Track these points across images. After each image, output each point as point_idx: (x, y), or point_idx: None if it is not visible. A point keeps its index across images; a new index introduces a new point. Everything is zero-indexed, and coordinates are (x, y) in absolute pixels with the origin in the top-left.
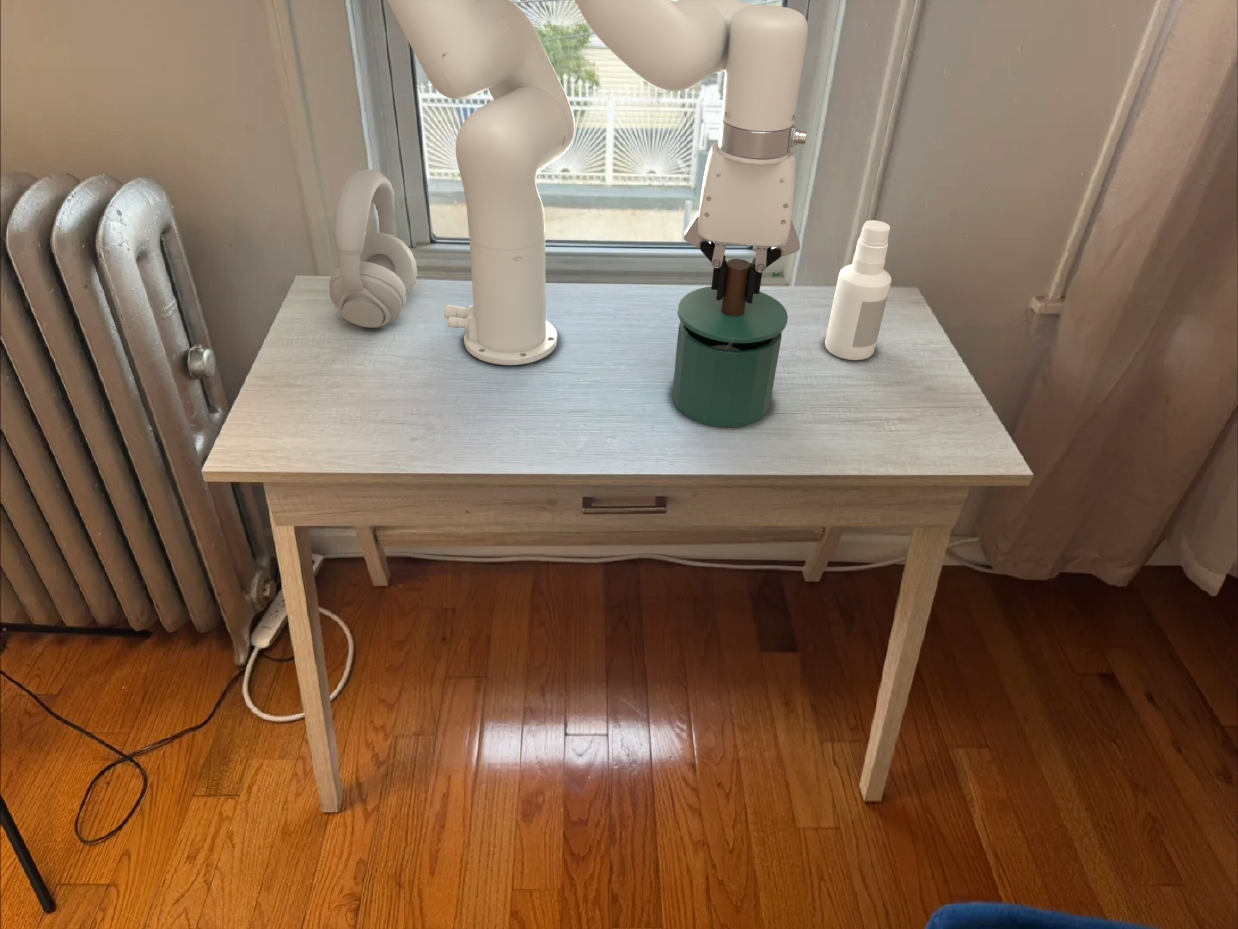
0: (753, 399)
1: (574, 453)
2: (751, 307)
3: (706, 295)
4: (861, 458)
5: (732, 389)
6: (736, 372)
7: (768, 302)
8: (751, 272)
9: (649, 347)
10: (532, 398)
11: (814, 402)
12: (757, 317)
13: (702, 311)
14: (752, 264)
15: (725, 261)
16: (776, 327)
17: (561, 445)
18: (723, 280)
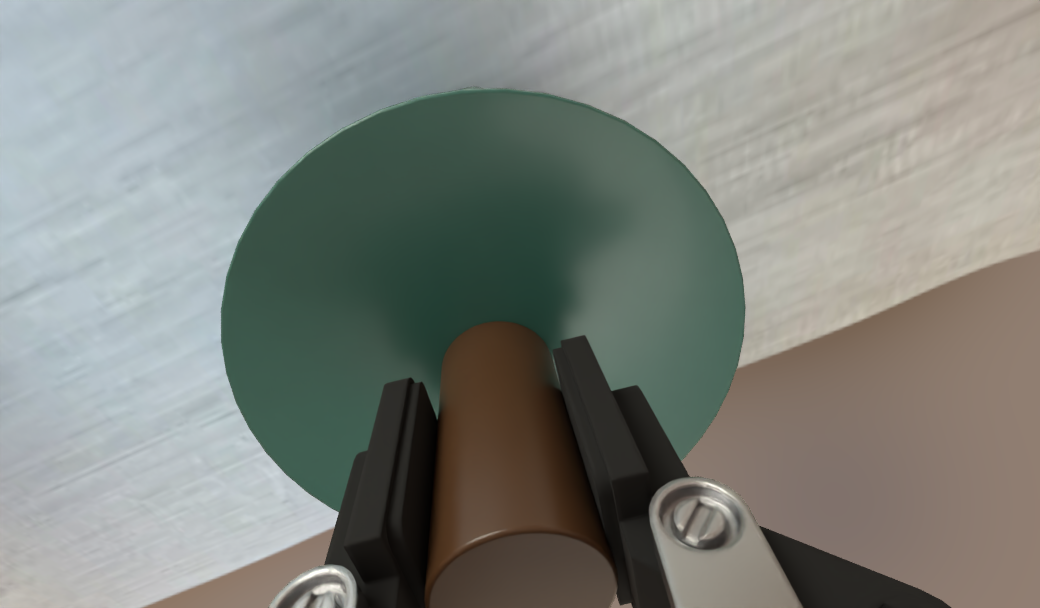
0: None
1: (284, 510)
2: (573, 302)
3: (322, 288)
4: (809, 306)
5: None
6: None
7: (646, 214)
8: (630, 601)
9: (152, 23)
10: (70, 410)
11: (714, 131)
12: (615, 373)
13: None
14: (633, 583)
15: (402, 563)
16: (701, 410)
17: (247, 503)
18: None
